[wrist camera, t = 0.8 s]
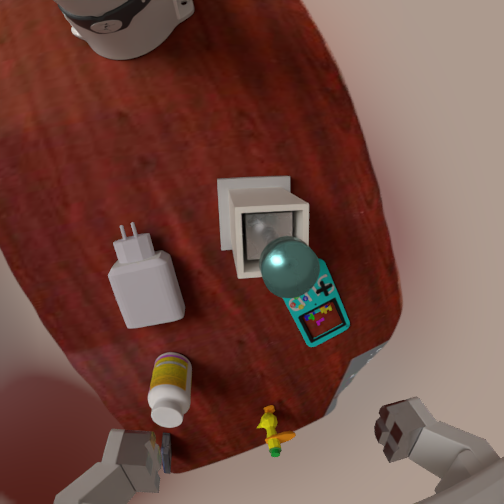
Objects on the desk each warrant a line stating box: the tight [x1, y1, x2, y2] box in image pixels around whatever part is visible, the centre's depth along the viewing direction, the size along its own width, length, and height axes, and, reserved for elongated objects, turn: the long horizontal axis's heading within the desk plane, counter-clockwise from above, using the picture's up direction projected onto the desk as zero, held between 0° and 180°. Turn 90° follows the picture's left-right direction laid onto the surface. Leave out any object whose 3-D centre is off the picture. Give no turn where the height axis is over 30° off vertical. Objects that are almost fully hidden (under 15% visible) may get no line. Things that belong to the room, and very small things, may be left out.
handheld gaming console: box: [283, 259, 350, 347], centre depth 52 cm, size 8×1×15 cm
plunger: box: [244, 211, 320, 298], centre depth 30 cm, size 5×5×12 cm
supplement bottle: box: [148, 352, 192, 428], centre depth 47 cm, size 7×7×13 cm
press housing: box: [217, 176, 309, 279], centre depth 39 cm, size 10×10×16 cm
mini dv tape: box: [161, 433, 172, 474], centre depth 57 cm, size 8×2×6 cm, turn 173°
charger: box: [108, 222, 185, 328], centre depth 45 cm, size 5×9×15 cm
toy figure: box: [257, 405, 296, 457], centre depth 53 cm, size 7×4×12 cm, turn 105°
